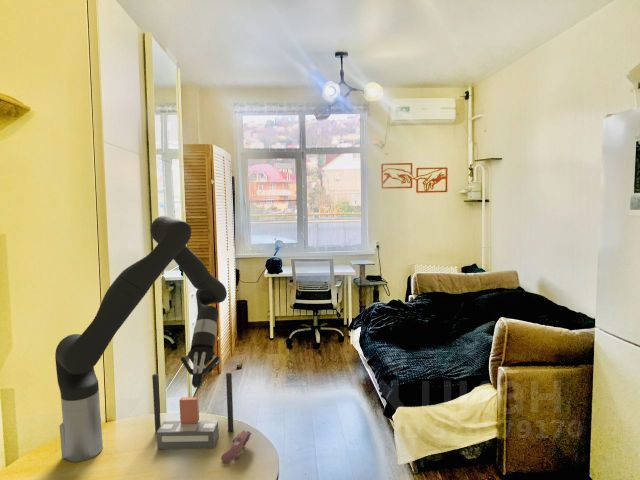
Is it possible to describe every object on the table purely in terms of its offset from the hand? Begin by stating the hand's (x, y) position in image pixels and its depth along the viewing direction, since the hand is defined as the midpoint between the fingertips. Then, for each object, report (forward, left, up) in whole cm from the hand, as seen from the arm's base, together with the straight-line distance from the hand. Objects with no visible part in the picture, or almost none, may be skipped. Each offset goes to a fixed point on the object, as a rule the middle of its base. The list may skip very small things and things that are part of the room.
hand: (196, 386), depth 136 cm
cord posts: (0, -4, -12) cm, 13 cm away
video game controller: (+15, -16, -12) cm, 26 cm away
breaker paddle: (0, -8, -7) cm, 11 cm away
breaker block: (0, -10, -12) cm, 16 cm away
